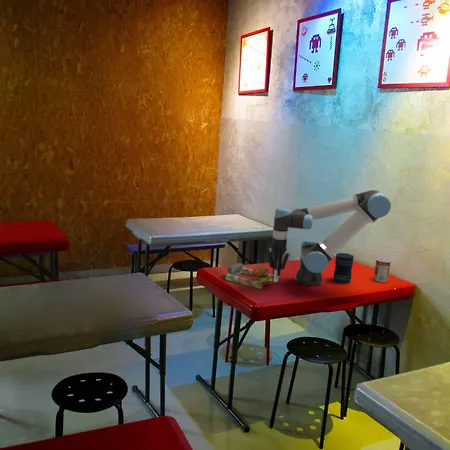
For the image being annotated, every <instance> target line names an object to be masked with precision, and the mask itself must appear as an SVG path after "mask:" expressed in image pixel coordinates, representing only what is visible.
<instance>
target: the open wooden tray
mask: <svg viewBox="0 0 450 450" xmlns="http://www.w3.org/2000/svg"><path fill="white" fill-rule="evenodd" d="M252 270H253V269H251V268H247V267H244V266H243V263H242V262H241V263H240V262H236V263H234V264H232V265H229V266H228V267H227V273H225V276H224V279H225V280H226V281H229V282H233V283H237V284H241V285H243V286H248V287H253V288H255V289H260V290H262V289H263V285H262V283H261V282H257V281H254V279H253V280H252V279H249V278H246V277H242V276H239V275H241V274H244V275H248V276H251V272H252ZM268 274H269V275H270V276H271V278H272V282H273V279H274V275H273V273H268Z"/></svg>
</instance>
